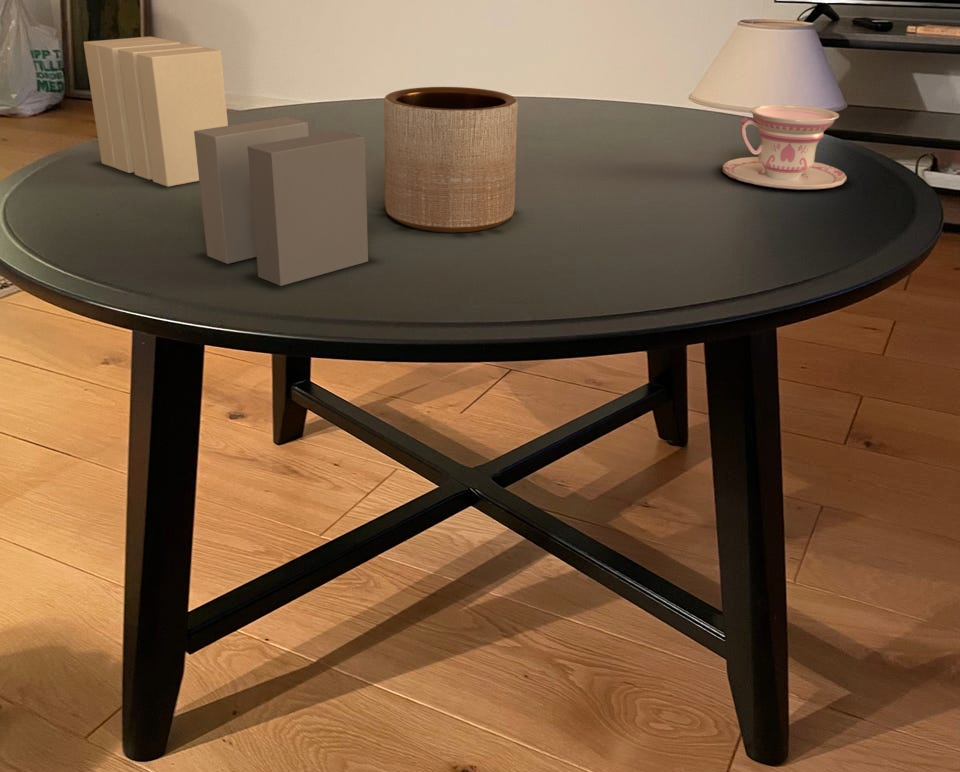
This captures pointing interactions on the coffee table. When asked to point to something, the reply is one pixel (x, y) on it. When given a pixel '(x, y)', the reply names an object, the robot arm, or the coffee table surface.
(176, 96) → the cream books
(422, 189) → the planter
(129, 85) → the cream book
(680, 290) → the coffee table surface
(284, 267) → the grey books
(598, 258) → the coffee table surface
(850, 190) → the coffee table surface
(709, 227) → the coffee table surface
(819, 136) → the teacup
